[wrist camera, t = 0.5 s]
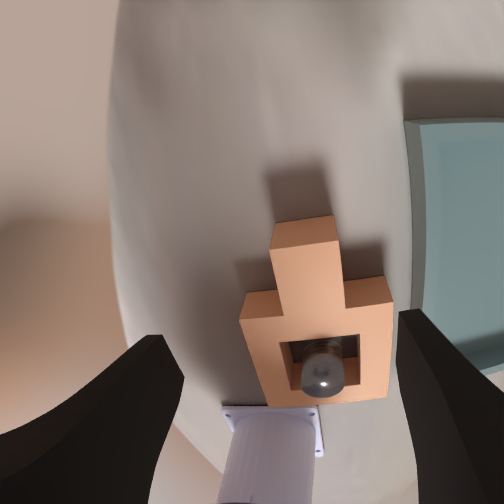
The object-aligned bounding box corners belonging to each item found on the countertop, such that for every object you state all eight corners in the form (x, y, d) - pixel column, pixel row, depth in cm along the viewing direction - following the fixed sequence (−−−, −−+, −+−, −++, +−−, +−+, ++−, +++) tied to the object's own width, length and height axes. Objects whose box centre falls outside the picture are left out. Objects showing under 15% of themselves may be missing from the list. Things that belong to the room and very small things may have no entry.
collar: (382, 369, 20) (387, 402, 17) (272, 380, 22) (267, 413, 19) (380, 208, 15) (395, 232, 12) (229, 230, 17) (214, 257, 14)
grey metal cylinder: (342, 348, 20) (345, 395, 16) (306, 351, 20) (303, 399, 17) (339, 320, 19) (343, 369, 15) (301, 324, 19) (298, 373, 16)
